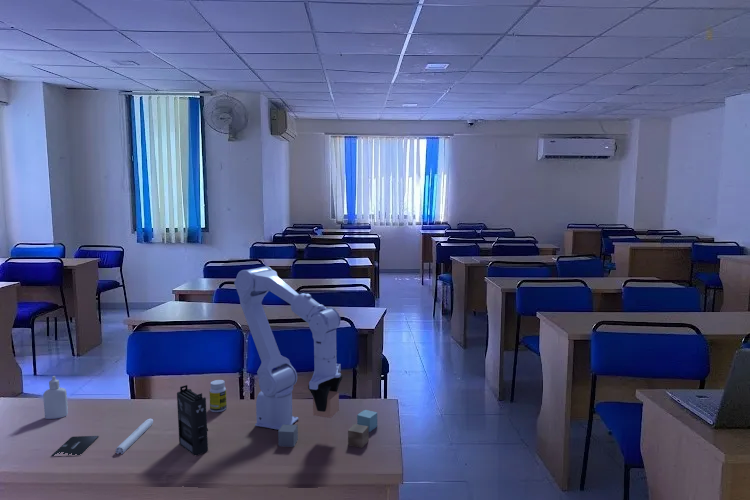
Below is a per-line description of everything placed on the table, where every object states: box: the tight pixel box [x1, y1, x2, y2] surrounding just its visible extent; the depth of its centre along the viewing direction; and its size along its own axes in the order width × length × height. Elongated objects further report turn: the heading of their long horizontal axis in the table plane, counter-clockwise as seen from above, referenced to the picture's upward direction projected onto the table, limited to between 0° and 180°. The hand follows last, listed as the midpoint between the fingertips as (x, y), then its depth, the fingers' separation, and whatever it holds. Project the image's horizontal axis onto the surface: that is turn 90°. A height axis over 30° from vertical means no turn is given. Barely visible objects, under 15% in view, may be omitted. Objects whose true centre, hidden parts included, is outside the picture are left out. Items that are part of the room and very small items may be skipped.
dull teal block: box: [356, 409, 378, 433], centre depth 141 cm, size 4×4×4 cm
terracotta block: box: [312, 391, 340, 419], centre depth 135 cm, size 5×5×5 cm
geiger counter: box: [176, 384, 209, 457], centre depth 130 cm, size 10×4×15 cm, turn 45°
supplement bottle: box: [209, 379, 227, 413], centre depth 153 cm, size 5×5×8 cm
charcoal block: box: [277, 424, 299, 448], centre depth 133 cm, size 4×4×4 cm
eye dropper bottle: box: [42, 375, 69, 420], centre depth 149 cm, size 4×6×12 cm
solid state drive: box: [51, 435, 100, 456], centre depth 132 cm, size 7×10×1 cm
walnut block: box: [347, 423, 369, 449], centre depth 132 cm, size 4×4×4 cm
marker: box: [115, 418, 154, 455], centre depth 136 cm, size 18×2×2 cm, turn 179°
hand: (326, 406), depth 135 cm, fingers closed on terracotta block, 5 cm apart
